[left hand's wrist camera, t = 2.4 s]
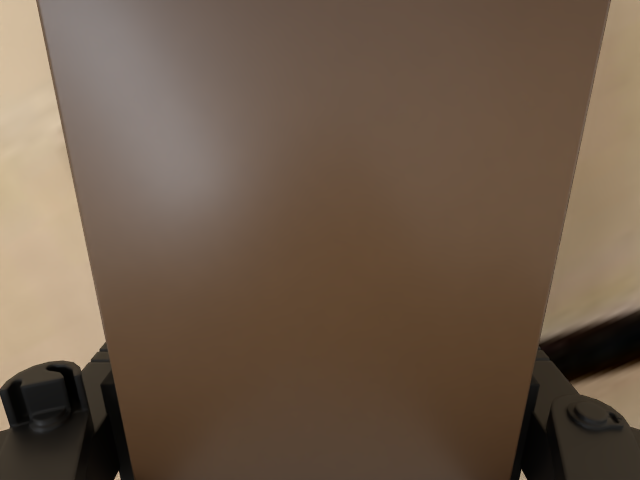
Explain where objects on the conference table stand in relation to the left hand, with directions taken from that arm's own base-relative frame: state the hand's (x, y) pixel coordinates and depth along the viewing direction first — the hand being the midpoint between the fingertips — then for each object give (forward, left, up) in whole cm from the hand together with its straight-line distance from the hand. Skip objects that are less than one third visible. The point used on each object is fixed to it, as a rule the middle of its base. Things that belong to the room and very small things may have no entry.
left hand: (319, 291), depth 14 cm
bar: (+9, +2, -1) cm, 9 cm away
